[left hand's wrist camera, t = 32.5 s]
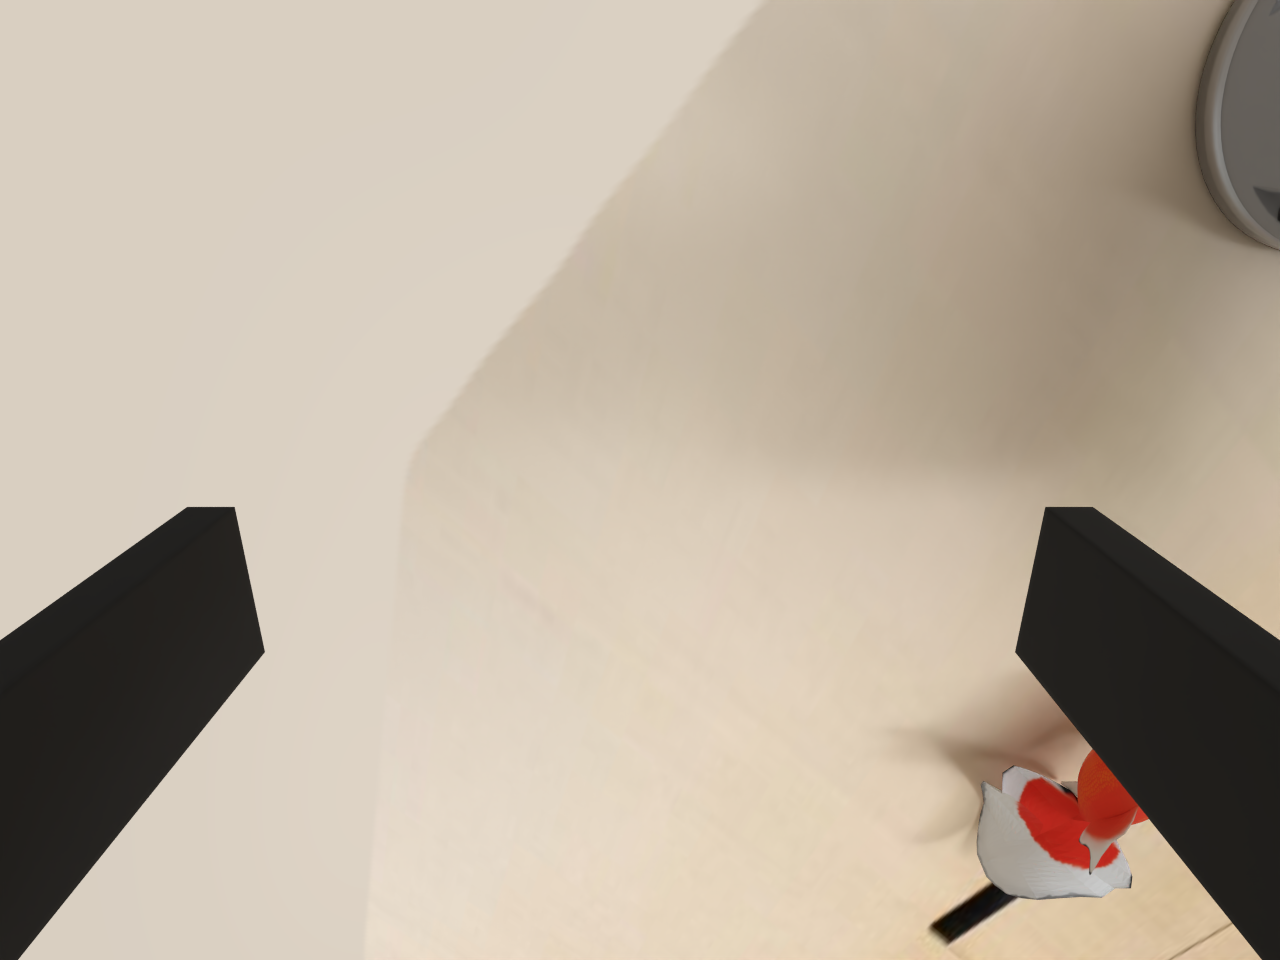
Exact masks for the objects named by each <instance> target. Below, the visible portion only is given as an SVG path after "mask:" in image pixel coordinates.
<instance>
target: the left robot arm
mask: <svg viewBox="0 0 1280 960" xmlns="http://www.w3.org/2000/svg"><path fill="white" fill-rule="evenodd" d="M1196 144H1197V152H1198V158H1199V163H1200V167H1201V170H1202V174H1203V177H1204V180H1205V182H1206V185H1207V187H1208V189H1209V191H1210V194H1211V195H1212V197H1213V199H1214V200H1215V202H1216V204H1217V205H1218V207H1219V208H1220V209H1221V211H1222V212H1223V213H1224V215H1225V216H1226V217H1227V218H1228V219H1229V220H1230V221H1231V222H1232V223H1233V224H1234V225H1235V226H1236V227H1237V228H1239V229H1240V230H1241V231H1242V232H1244V233H1245V234H1246V235H1248V236H1250V237H1251V238H1253V239H1255V240H1256V241H1258V242H1260V243H1263V244H1265V245H1267V246H1270V247H1272V248H1276V249H1279V250H1280V0H1235V1H1234V3H1233V4H1232V6H1231V8H1230V10H1229V11H1228V13H1227V15H1226V17H1225V19H1224V20H1223V22H1222V24H1221V26H1220V29H1219V31H1218V33H1217V35H1216V37H1215V39H1214V42H1213V44H1212V47H1211V50H1210V52H1209V55H1208V58H1207V61H1206V64H1205V68H1204V71H1203V75H1202V78H1201V83H1200V88H1199V93H1198V99H1197V109H1196ZM264 652H265V651H264V646H263V641H262V636H261V632H260V627H259V622H258V617H257V612H256V608H255V603H254V598H253V593H252V589H251V584H250V579H249V574H248V569H247V565H246V560H245V555H244V550H243V545H242V540H241V536H240V531H239V526H238V521H237V516H236V512H235V507H187V508H185V509H184V510H182V511H181V512H180V513H178V514H177V515H176V516H174V517H173V518H171V519H170V520H168V521H167V522H166V523H164V524H163V525H161V526H160V527H159V528H157V529H156V530H154V531H153V532H152V533H150V534H149V535H147V536H146V537H145V538H143V539H142V540H140V541H139V542H138V543H136V544H135V545H133V546H132V547H131V548H129V549H128V550H126V551H125V552H124V553H122V554H121V555H119V556H118V557H116V558H115V559H114V560H112V561H111V562H109V563H108V564H107V565H105V566H104V567H103V568H101V569H100V570H98V571H97V572H95V573H94V574H93V575H91V576H90V577H88V578H87V579H86V580H84V581H83V582H81V583H80V584H79V585H77V586H76V587H74V588H73V589H72V590H70V591H69V592H67V593H66V594H65V595H63V596H62V597H60V598H59V599H58V600H56V601H55V602H53V603H52V604H51V605H49V606H48V607H46V608H45V609H44V610H42V611H41V612H39V613H38V614H37V615H35V616H34V617H32V618H31V619H30V620H28V621H27V622H25V623H24V624H22V625H21V626H20V627H18V628H17V629H15V630H14V631H13V632H11V633H10V634H9V635H7V636H6V637H4V638H3V639H1V640H0V960H18V959H19V958H20V957H21V955H22V954H23V953H24V952H25V950H26V949H27V948H28V947H29V945H30V944H31V943H32V942H33V940H34V939H35V938H36V937H37V935H38V934H39V933H40V932H41V930H42V929H43V928H44V927H45V925H46V924H47V923H48V922H49V920H50V919H51V918H52V917H53V915H54V914H55V913H56V912H57V910H58V909H59V908H60V907H61V905H62V904H63V903H64V902H65V900H66V899H67V898H68V897H69V895H70V894H71V893H72V892H73V890H74V889H75V888H76V887H77V885H78V884H79V883H80V882H81V880H82V879H83V878H84V877H85V876H86V874H87V873H88V872H89V871H90V869H91V868H92V867H93V866H94V864H95V863H96V862H97V861H98V859H99V858H100V857H101V856H102V854H103V853H104V852H105V851H106V849H107V848H108V847H109V846H110V844H111V843H112V842H113V841H114V839H115V838H116V837H117V836H118V834H119V833H120V832H121V831H122V829H123V828H124V827H125V826H126V824H127V823H128V822H129V821H130V819H131V818H132V817H133V816H134V814H135V813H136V812H137V811H138V809H139V808H140V807H141V806H142V804H143V803H144V802H145V801H146V799H147V798H148V797H149V796H150V795H151V793H152V792H153V791H154V790H155V788H156V787H157V786H158V785H159V783H160V782H161V781H162V779H163V778H164V777H165V776H166V775H167V773H168V772H169V771H170V770H171V768H172V767H173V766H174V765H175V763H176V762H177V761H178V760H179V758H180V757H181V756H182V755H183V753H184V752H185V751H186V750H187V748H188V747H189V746H190V745H191V743H192V742H193V741H194V740H195V738H196V737H197V736H198V735H199V733H200V732H201V731H202V730H203V728H204V727H205V726H206V725H207V723H208V722H209V721H210V720H211V718H212V717H213V716H214V715H215V713H216V712H217V711H218V710H219V709H220V707H221V706H222V705H223V703H224V702H225V701H226V700H227V699H228V697H229V696H230V695H231V694H232V692H233V691H234V690H235V689H236V687H237V686H238V685H239V684H240V682H241V681H242V680H243V679H244V677H245V676H246V675H247V674H248V672H249V671H250V670H251V669H252V667H253V666H254V665H255V664H256V662H257V661H258V660H259V659H260V657H261V656H262V655H263V654H264ZM1015 652H1016V654H1017V655H1018V656H1019V657H1020V659H1021V660H1022V661H1023V662H1024V664H1025V665H1026V666H1027V667H1028V669H1029V670H1030V671H1031V672H1032V674H1033V675H1034V676H1035V677H1036V679H1037V680H1038V681H1039V682H1040V684H1041V685H1042V686H1043V687H1044V689H1045V690H1046V691H1047V692H1048V694H1049V695H1050V696H1051V697H1052V699H1053V700H1054V701H1055V702H1056V704H1057V705H1058V706H1059V707H1060V709H1061V710H1062V711H1063V712H1064V713H1065V715H1066V716H1067V717H1068V718H1069V720H1070V721H1071V722H1072V723H1073V725H1074V726H1075V727H1076V728H1077V730H1078V731H1079V732H1080V733H1081V735H1082V736H1083V737H1084V738H1085V740H1086V741H1087V742H1088V743H1089V745H1090V746H1091V747H1092V748H1093V750H1094V751H1095V752H1096V753H1097V755H1098V756H1099V757H1100V758H1101V760H1102V761H1103V762H1104V763H1105V765H1106V766H1107V767H1108V768H1109V770H1110V771H1111V772H1112V773H1113V775H1114V776H1115V777H1116V778H1117V780H1118V781H1119V782H1120V783H1121V785H1122V786H1123V787H1124V788H1125V790H1126V791H1127V792H1128V793H1129V795H1130V796H1131V797H1132V798H1133V799H1134V801H1135V802H1136V803H1137V804H1138V806H1139V807H1140V808H1141V809H1142V811H1143V812H1144V813H1145V814H1146V816H1147V817H1148V818H1149V819H1150V821H1151V822H1152V823H1153V824H1154V826H1155V827H1156V828H1157V829H1158V831H1159V832H1160V833H1161V834H1162V836H1163V837H1164V838H1165V839H1166V841H1167V842H1168V843H1169V844H1170V846H1171V847H1172V848H1173V849H1174V851H1175V852H1176V853H1177V854H1178V856H1179V857H1180V858H1181V859H1182V861H1183V862H1184V863H1185V864H1186V866H1187V867H1188V868H1189V869H1190V871H1191V872H1192V873H1193V874H1194V876H1195V877H1196V878H1197V879H1198V881H1199V882H1200V883H1201V884H1202V886H1203V887H1204V888H1205V889H1206V890H1207V892H1208V893H1209V894H1210V895H1211V897H1212V898H1213V899H1214V900H1215V902H1216V903H1217V904H1218V905H1219V907H1220V908H1221V909H1222V910H1223V912H1224V913H1225V914H1226V915H1227V917H1228V918H1229V919H1230V920H1231V922H1232V923H1233V924H1234V925H1235V927H1236V928H1237V929H1238V930H1239V932H1240V933H1241V934H1242V935H1243V937H1244V938H1245V939H1246V940H1247V942H1248V943H1249V944H1250V945H1251V947H1252V948H1253V949H1254V950H1255V952H1256V953H1257V954H1258V955H1259V957H1260V958H1261V959H1262V960H1280V640H1279V639H1277V638H1276V637H1274V636H1273V635H1272V634H1270V633H1269V632H1267V631H1266V630H1265V629H1263V628H1262V627H1260V626H1259V625H1258V624H1256V623H1255V622H1253V621H1252V620H1250V619H1249V618H1248V617H1246V616H1245V615H1243V614H1242V613H1241V612H1239V611H1238V610H1236V609H1235V608H1234V607H1232V606H1231V605H1229V604H1228V603H1227V602H1225V601H1224V600H1222V599H1221V598H1220V597H1218V596H1217V595H1215V594H1214V593H1213V592H1211V591H1210V590H1208V589H1207V588H1206V587H1204V586H1203V585H1201V584H1200V583H1199V582H1197V581H1196V580H1194V579H1193V578H1192V577H1190V576H1189V575H1187V574H1186V573H1185V572H1183V571H1182V570H1180V569H1179V568H1178V567H1176V566H1175V565H1173V564H1172V563H1171V562H1169V561H1168V560H1166V559H1165V558H1164V557H1162V556H1161V555H1159V554H1158V553H1156V552H1155V551H1154V550H1152V549H1151V548H1149V547H1148V546H1147V545H1145V544H1144V543H1142V542H1141V541H1140V540H1138V539H1137V538H1135V537H1134V536H1133V535H1131V534H1130V533H1128V532H1127V531H1126V530H1124V529H1123V528H1121V527H1120V526H1119V525H1117V524H1116V523H1114V522H1113V521H1112V520H1110V519H1109V518H1107V517H1106V516H1105V515H1103V514H1102V513H1100V512H1099V511H1098V510H1096V509H1095V508H1093V507H1045V512H1044V516H1043V521H1042V526H1041V531H1040V536H1039V540H1038V545H1037V550H1036V555H1035V560H1034V564H1033V569H1032V574H1031V579H1030V584H1029V588H1028V593H1027V598H1026V603H1025V608H1024V612H1023V617H1022V622H1021V627H1020V632H1019V636H1018V641H1017V646H1016V651H1015Z"/></svg>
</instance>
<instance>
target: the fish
mask: <svg viewBox="0 0 1280 960" xmlns="http://www.w3.org/2000/svg"><path fill="white" fill-rule="evenodd" d="M1061 784H1062V785H1063V786H1065V787H1066V788H1065V787H1063V786H1062V785H1060V784H1058V783H1056V782H1054V781H1052V780H1050V779H1048V778H1046V777H1044V776H1043V775H1040V774H1038V773H1035V772H1033V771H1030V770H1027V769H1024V768H1021V767H1017V766H1014V765H1013V766H1012V767H1010V768H1009V769H1008V770H1006V771H1005V772H1003V779H1002V790H1000V789H998V788H996V787H994V786H992V785H990V784H989V783H987V782H984V781H983V782H982V784H981V788H982V792H983V800H984V804H983V808H982V811H981V814H980V820H979V826H978V835H977V855H978V858H979V860H980V863H981V865H982V867H983V870H984V872H985V875H986V877H987V878H988V879H989V880H990V881H991V882H992V883H993V884H994V885H996V886H997V887H998V888H1000V889H1001V890H1002V891H1004V892H1005V893H1006V894H1009V895H1013V896H1016V897H1020V898H1026V899H1036V900H1041V899H1055V898H1070V897H1100V898H1102V897H1103V896H1105V895H1106V894H1108V893H1109V892H1111V891H1112V890H1113V889H1115V888H1131V883H1132V874H1131V871H1130V868H1129V865H1128V862H1127V860H1126V858H1125V856H1124V854H1123V852H1122V850H1121V848H1120V846H1119V844H1118V842H1117V839H1118V838H1120V837H1121V836H1122V835H1124V834H1125V833H1126V832H1127V830H1128V828H1129V827H1130V825H1133V824H1136V823H1140V822H1143V821H1145V820H1147V819H1149V818H1148V817H1147V816H1146V814H1145V813H1144V812H1143V811H1142V809H1141V808H1140V807H1139V806H1138V804H1137V803H1136V802H1135V801H1134V799H1133V798H1132V797H1131V796H1130V795H1129V793H1128V792H1127V791H1126V790H1125V788H1124V787H1123V786H1122V785H1121V783H1120V782H1119V781H1118V780H1117V778H1116V777H1115V776H1114V775H1113V773H1112V772H1111V771H1110V770H1109V768H1108V767H1107V766H1106V765H1105V763H1104V762H1103V761H1102V760H1101V758H1100V757H1099V756H1098V755H1097V753H1096V752H1095V751H1094V750H1092V751H1091V752H1090V753H1089V754H1088V756H1087V757H1086V759H1085V760H1084V762H1083V764H1082V767H1081V769H1080V772H1079V776H1078V782H1070V781H1062V782H1061ZM1067 788H1068V789H1067ZM1075 795H1076V796H1077V797H1078V798H1077V797H1076V796H1075Z"/></svg>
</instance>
